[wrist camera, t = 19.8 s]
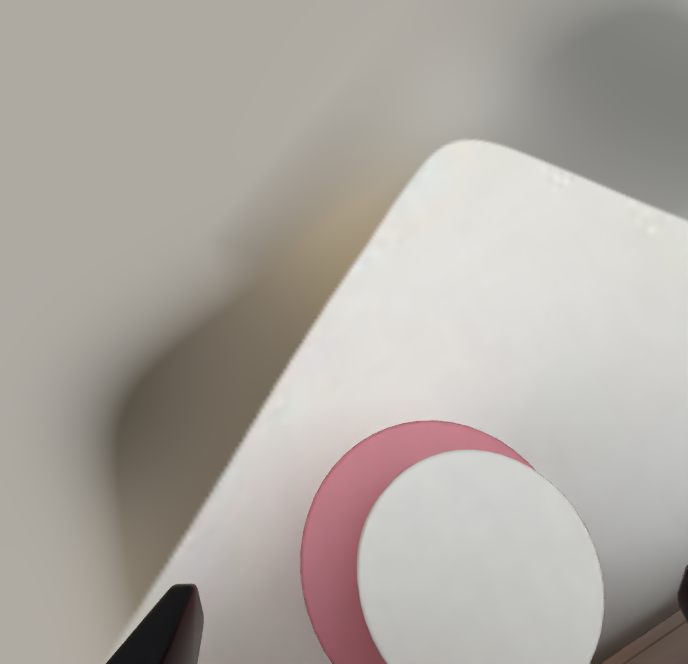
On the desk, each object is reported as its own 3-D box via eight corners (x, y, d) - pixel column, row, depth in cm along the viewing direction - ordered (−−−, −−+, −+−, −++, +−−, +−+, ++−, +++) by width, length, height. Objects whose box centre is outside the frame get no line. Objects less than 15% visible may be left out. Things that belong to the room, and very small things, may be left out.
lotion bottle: (368, 658, 15) (405, 963, 5) (300, 509, 17) (213, 483, 6) (499, 577, 16) (790, 679, 5) (422, 442, 18) (529, 319, 7)
